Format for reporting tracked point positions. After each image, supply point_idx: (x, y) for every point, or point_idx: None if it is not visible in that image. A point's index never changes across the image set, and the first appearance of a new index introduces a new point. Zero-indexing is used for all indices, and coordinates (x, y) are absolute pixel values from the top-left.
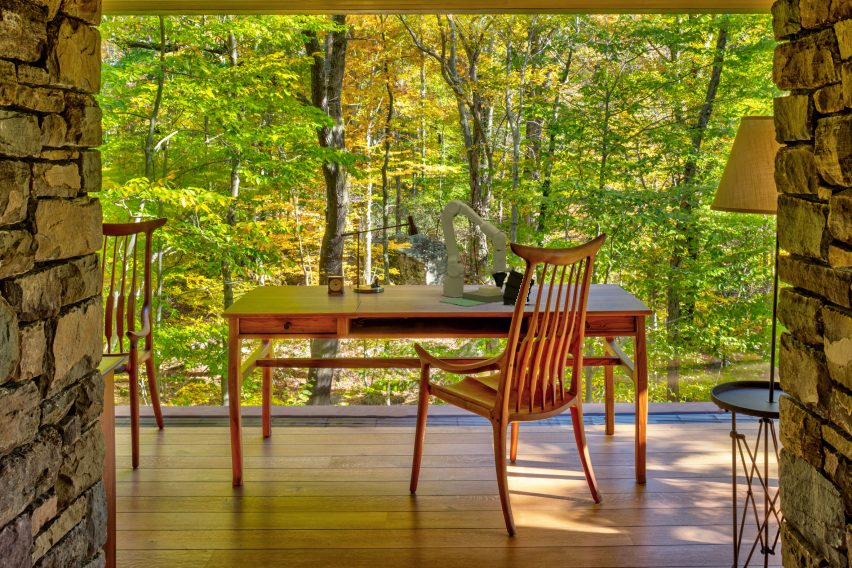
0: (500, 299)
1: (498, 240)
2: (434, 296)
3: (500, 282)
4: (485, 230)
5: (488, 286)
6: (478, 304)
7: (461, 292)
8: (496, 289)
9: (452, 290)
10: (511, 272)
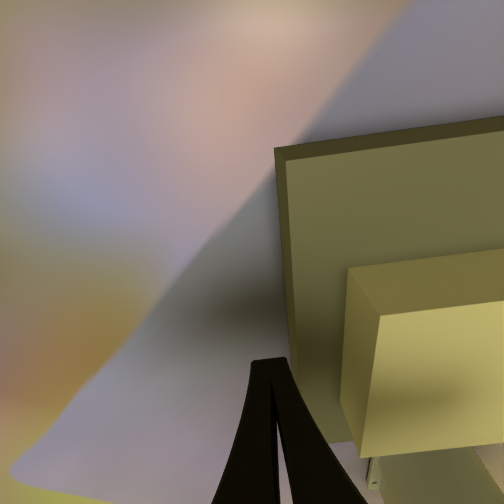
0: (444, 128)
1: None
2: (489, 471)
3: (315, 441)
4: None
5: (414, 424)
6: None
7: (440, 455)
8: (453, 289)
9: (495, 482)
10: None
